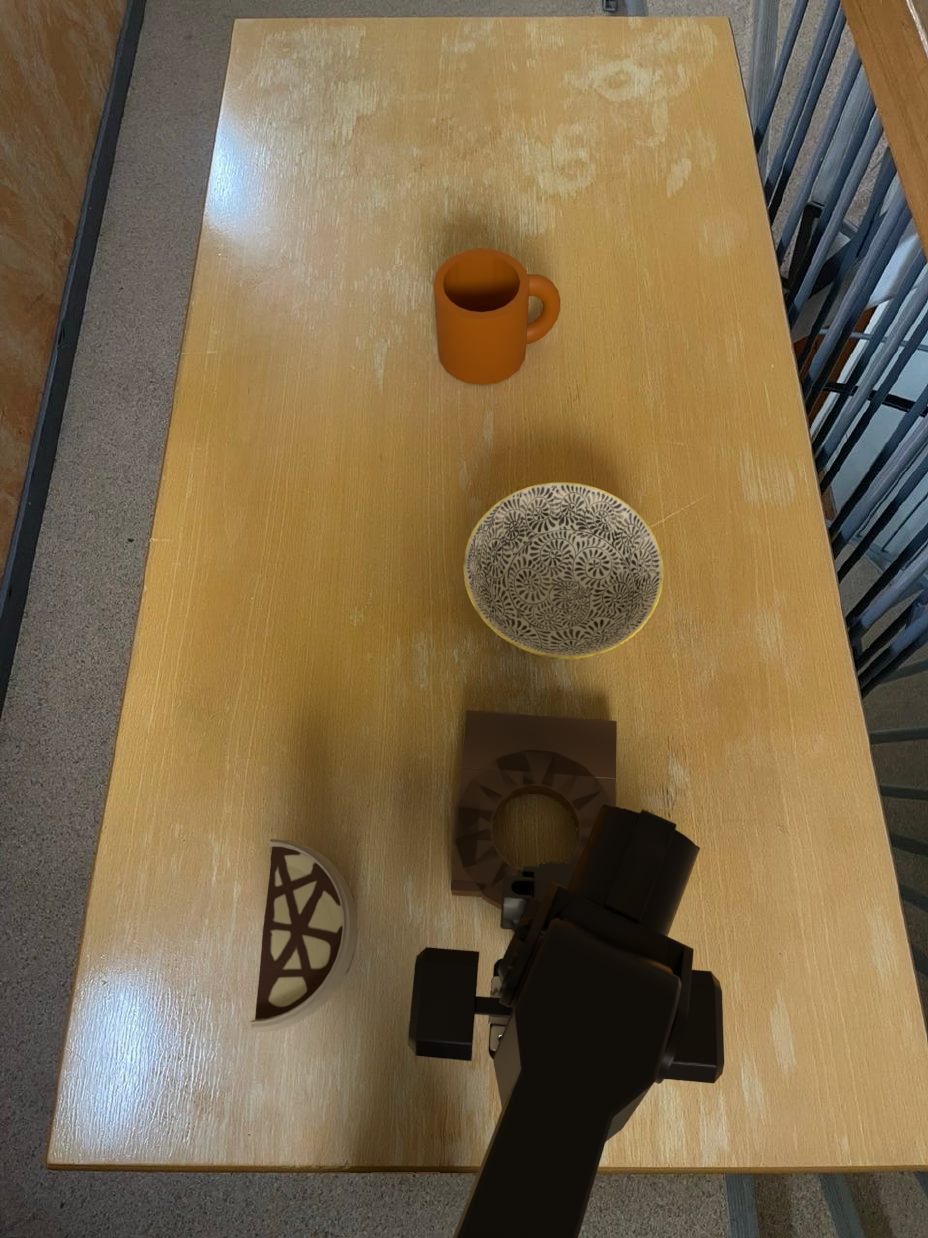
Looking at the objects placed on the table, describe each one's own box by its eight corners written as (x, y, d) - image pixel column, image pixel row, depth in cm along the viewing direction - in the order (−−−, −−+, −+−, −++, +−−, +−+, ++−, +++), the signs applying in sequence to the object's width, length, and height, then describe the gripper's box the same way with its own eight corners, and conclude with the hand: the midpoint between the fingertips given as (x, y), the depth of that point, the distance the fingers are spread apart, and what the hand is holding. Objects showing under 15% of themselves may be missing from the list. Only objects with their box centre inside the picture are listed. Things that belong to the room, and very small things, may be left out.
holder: (612, 924, 69) (616, 920, 66) (448, 911, 69) (447, 906, 67) (615, 730, 75) (619, 721, 73) (464, 720, 76) (464, 710, 74)
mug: (560, 384, 90) (567, 318, 82) (438, 387, 90) (433, 321, 82) (555, 314, 94) (562, 244, 86) (438, 317, 94) (433, 247, 86)
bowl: (428, 622, 80) (423, 583, 73) (535, 496, 85) (539, 448, 78) (581, 728, 75) (590, 696, 68) (684, 589, 80) (702, 546, 73)
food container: (366, 1035, 66) (346, 1034, 57) (281, 1034, 66) (247, 1032, 57) (375, 860, 71) (358, 834, 62) (296, 860, 71) (268, 833, 62)
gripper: (743, 871, 52) (689, 907, 67) (418, 846, 53) (433, 886, 68) (752, 1090, 48) (692, 1078, 62) (396, 1057, 49) (417, 1053, 63)
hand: (555, 1016), depth 64 cm, fingers closed
